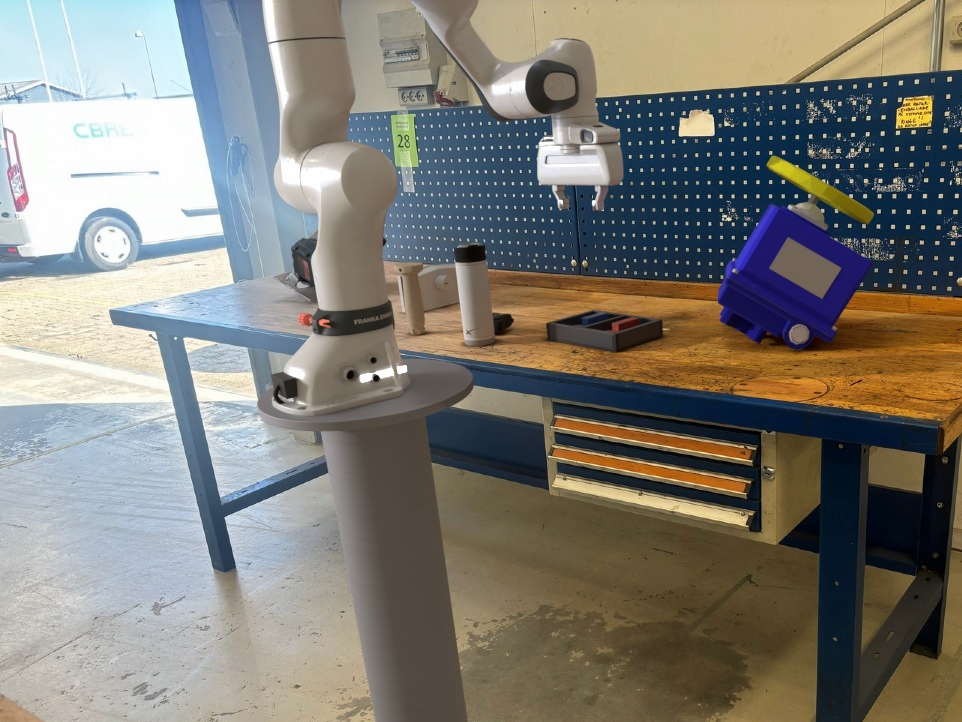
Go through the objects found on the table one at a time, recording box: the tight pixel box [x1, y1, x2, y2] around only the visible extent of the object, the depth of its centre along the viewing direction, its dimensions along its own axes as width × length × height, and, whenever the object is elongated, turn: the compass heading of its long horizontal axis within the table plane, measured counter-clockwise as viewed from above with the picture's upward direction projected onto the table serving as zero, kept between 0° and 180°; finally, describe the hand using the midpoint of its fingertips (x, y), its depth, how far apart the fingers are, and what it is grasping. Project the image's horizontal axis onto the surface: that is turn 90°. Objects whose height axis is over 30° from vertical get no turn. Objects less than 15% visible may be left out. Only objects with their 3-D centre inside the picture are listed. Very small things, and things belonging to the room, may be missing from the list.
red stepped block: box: [607, 317, 639, 333], centre depth 168 cm, size 10×4×3 cm, turn 136°
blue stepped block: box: [573, 312, 608, 327], centre depth 174 cm, size 10×4×3 cm, turn 136°
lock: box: [397, 263, 460, 314], centre depth 211 cm, size 19×9×10 cm, turn 142°
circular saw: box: [272, 227, 387, 303], centre depth 233 cm, size 21×36×25 cm
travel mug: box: [453, 244, 496, 347], centre depth 171 cm, size 6×7×20 cm
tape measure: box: [492, 312, 515, 334], centre depth 182 cm, size 7×7×4 cm
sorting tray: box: [545, 309, 664, 353], centre depth 171 cm, size 14×19×4 cm
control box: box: [717, 155, 875, 351], centre depth 162 cm, size 26×27×30 cm
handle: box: [393, 261, 426, 336], centre depth 183 cm, size 5×6×15 cm
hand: (580, 209), depth 166 cm, fingers open, 8 cm apart
